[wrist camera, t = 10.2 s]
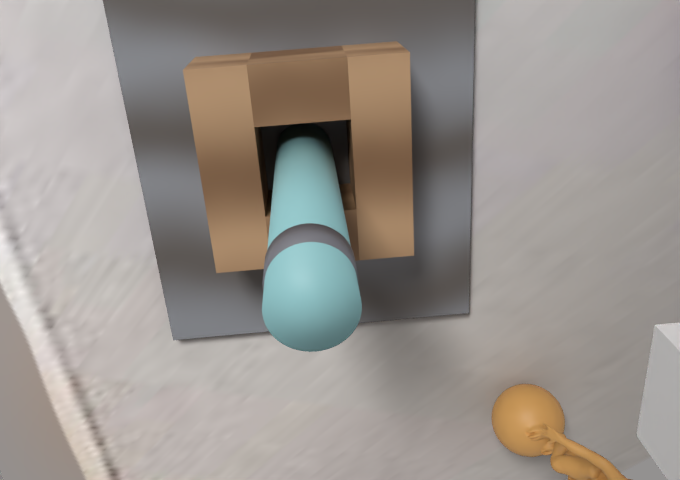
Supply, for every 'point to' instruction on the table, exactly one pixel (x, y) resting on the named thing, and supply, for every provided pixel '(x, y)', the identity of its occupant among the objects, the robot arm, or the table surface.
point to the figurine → (545, 434)
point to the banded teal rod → (308, 247)
